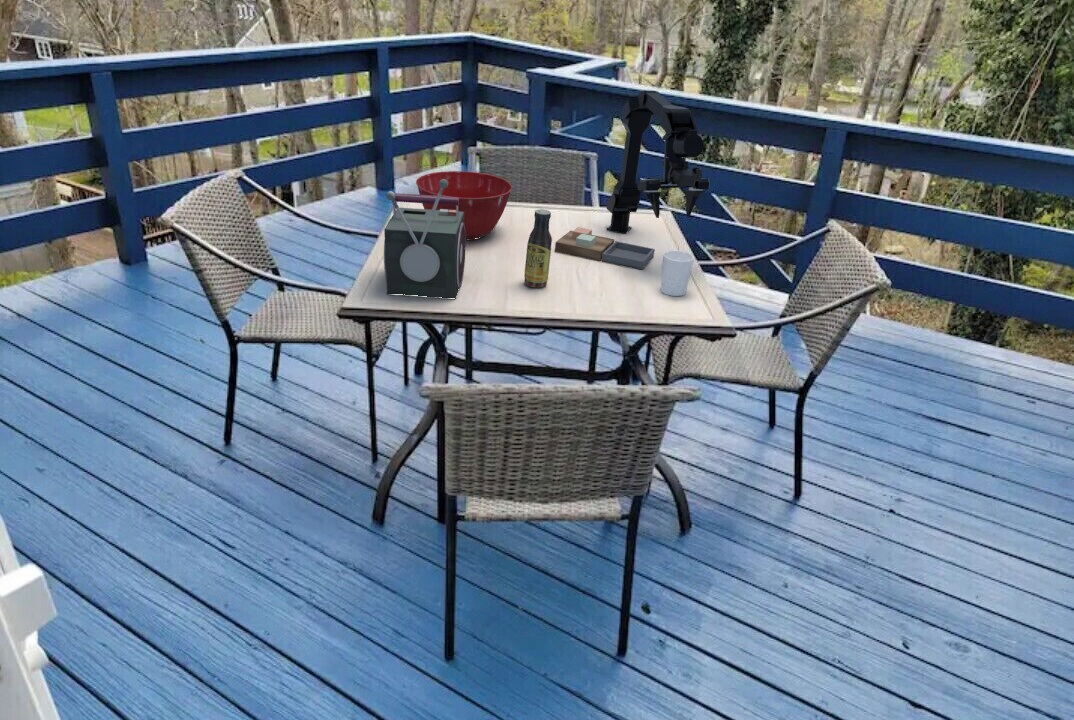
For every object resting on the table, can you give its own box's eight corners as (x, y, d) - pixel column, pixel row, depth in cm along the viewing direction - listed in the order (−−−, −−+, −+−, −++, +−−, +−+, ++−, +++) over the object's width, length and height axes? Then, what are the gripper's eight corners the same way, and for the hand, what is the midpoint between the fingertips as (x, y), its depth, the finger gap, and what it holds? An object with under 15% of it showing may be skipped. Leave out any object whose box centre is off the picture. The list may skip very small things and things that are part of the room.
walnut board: (569, 239, 229) (570, 230, 227) (613, 248, 224) (614, 239, 223) (554, 251, 219) (555, 242, 218) (600, 261, 215) (601, 251, 213)
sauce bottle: (519, 285, 196) (523, 211, 186) (531, 277, 201) (535, 205, 191) (541, 291, 193) (547, 216, 184) (552, 283, 198) (558, 210, 189)
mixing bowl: (496, 216, 245) (497, 169, 237) (522, 246, 221) (524, 195, 214) (409, 220, 236) (408, 171, 229) (426, 252, 213) (426, 199, 205)
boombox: (465, 271, 202) (467, 160, 188) (456, 303, 184) (457, 182, 169) (398, 267, 202) (395, 155, 188) (382, 298, 184) (377, 177, 169)
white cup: (670, 283, 204) (675, 248, 199) (694, 292, 199) (700, 256, 194) (652, 290, 199) (657, 254, 194) (676, 299, 194) (682, 263, 189)
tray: (614, 249, 224) (615, 241, 223) (653, 257, 220) (654, 248, 219) (601, 261, 214) (602, 253, 213) (642, 270, 211) (643, 261, 209)
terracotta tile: (577, 233, 226) (578, 227, 225) (591, 236, 224) (592, 229, 223) (572, 237, 222) (572, 231, 221) (586, 240, 220) (587, 234, 219)
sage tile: (581, 240, 220) (581, 233, 220) (595, 243, 219) (596, 236, 218) (575, 244, 217) (576, 238, 216) (590, 247, 215) (590, 240, 214)
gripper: (656, 158, 190) (654, 220, 194) (721, 157, 195) (718, 218, 199) (638, 158, 200) (636, 217, 204) (700, 157, 205) (698, 215, 210)
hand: (673, 217), depth 204 cm, fingers open, 9 cm apart
